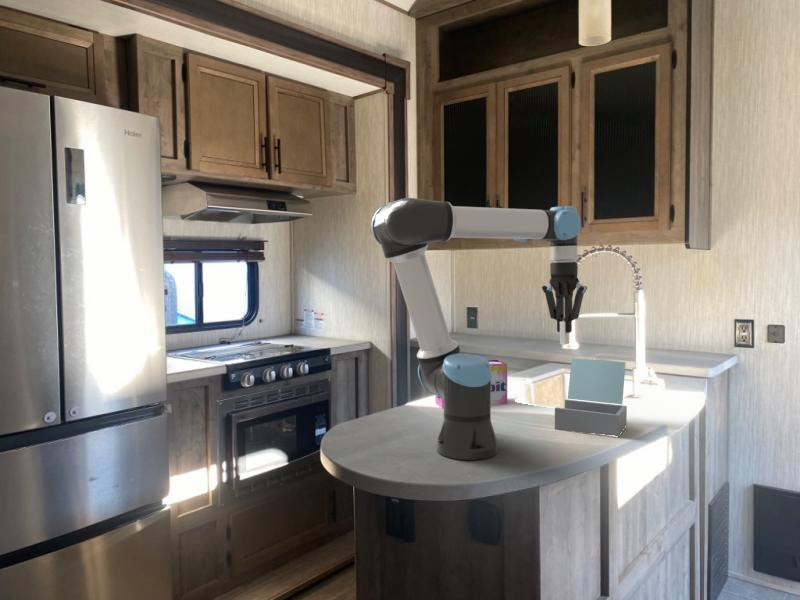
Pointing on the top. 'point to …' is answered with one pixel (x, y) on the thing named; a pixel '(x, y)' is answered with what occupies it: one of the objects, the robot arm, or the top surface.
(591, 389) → the cover
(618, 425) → the grey open box
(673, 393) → the top surface
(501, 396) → the gum box
